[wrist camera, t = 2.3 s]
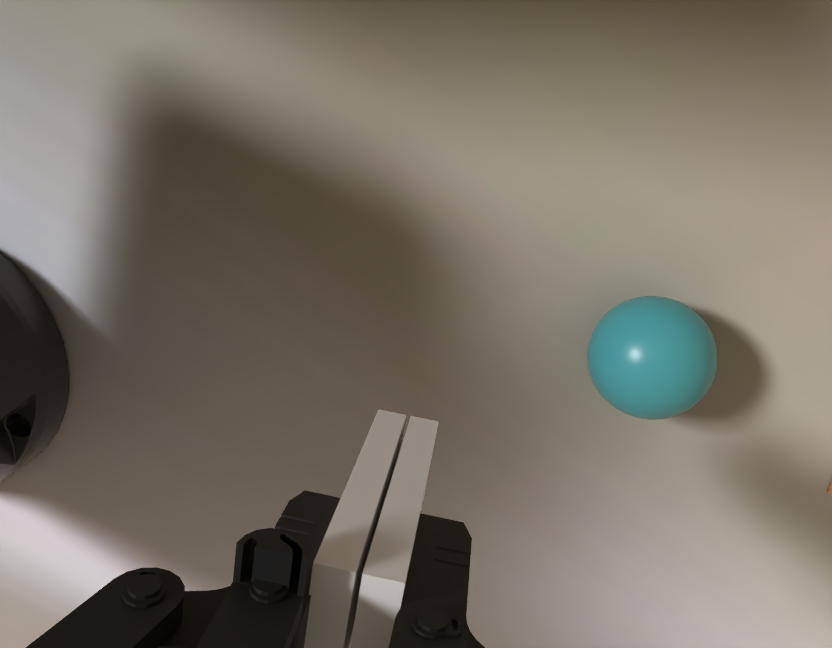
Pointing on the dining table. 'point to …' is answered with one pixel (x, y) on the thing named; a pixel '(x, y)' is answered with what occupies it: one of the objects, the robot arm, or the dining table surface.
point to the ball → (652, 357)
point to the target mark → (830, 488)
